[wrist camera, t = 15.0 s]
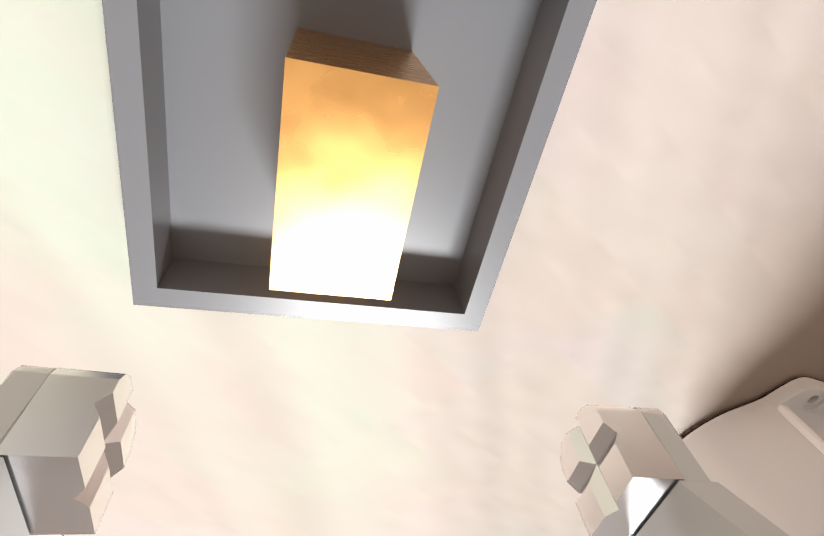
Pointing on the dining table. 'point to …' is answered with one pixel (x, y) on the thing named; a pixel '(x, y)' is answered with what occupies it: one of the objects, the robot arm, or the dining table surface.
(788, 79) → the dining table surface
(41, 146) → the dining table surface
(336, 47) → the wooden block
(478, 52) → the grey tray
